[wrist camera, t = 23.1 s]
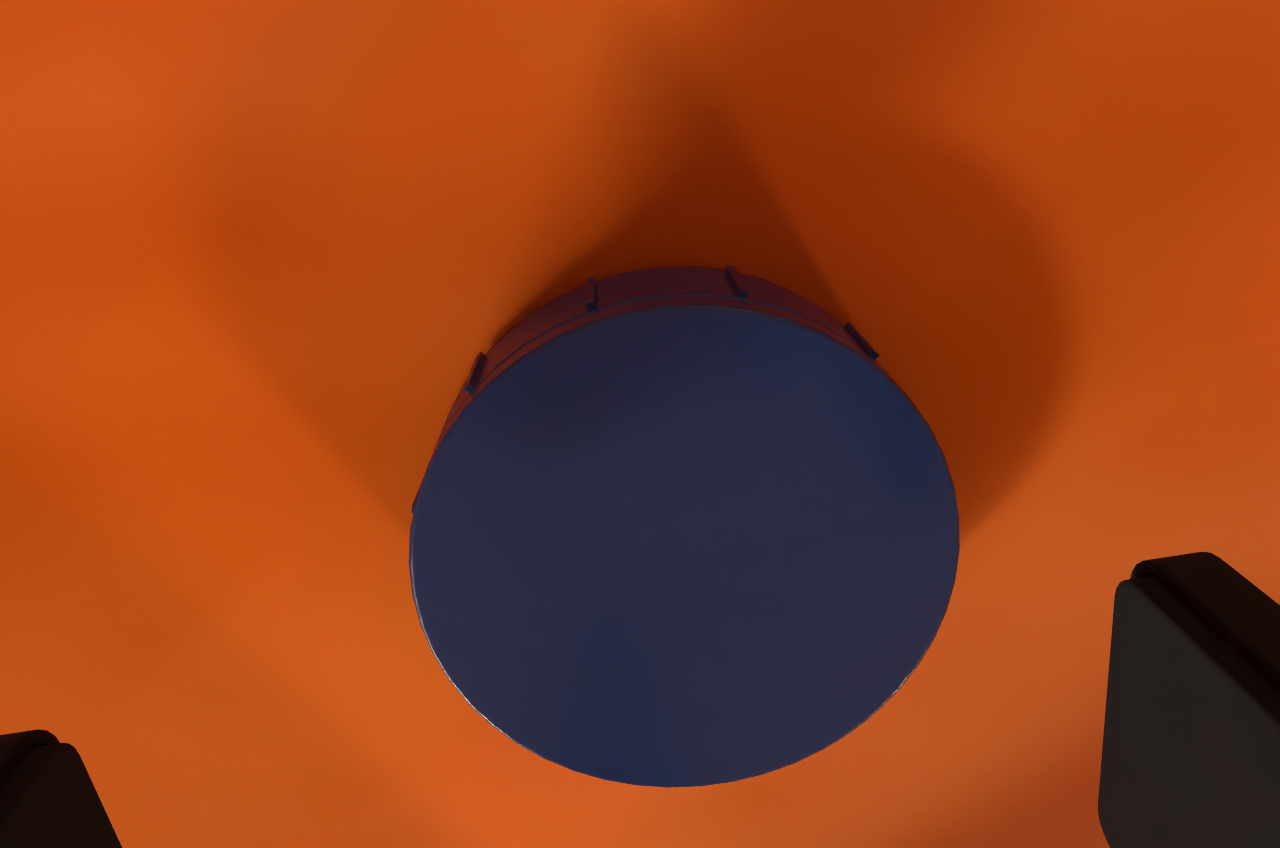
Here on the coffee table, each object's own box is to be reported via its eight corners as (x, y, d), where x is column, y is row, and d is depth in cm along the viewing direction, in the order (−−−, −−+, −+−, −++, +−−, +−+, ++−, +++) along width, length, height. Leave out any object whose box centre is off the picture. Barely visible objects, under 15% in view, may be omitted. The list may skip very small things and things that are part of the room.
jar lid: (993, 550, 14) (1051, 627, 12) (615, 765, 16) (617, 863, 14) (752, 159, 12) (782, 181, 10) (332, 449, 13) (288, 515, 11)
